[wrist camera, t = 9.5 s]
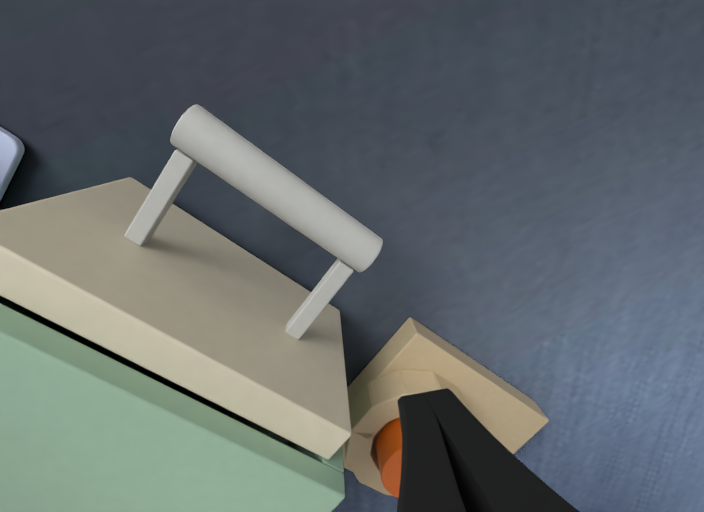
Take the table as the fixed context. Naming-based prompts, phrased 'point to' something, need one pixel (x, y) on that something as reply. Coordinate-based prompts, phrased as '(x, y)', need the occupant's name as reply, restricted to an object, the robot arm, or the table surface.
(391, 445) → the button
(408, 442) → the robot arm
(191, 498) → the green drawer cabinet
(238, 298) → the cream pull-out drawer
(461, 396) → the control block
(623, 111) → the table surface
